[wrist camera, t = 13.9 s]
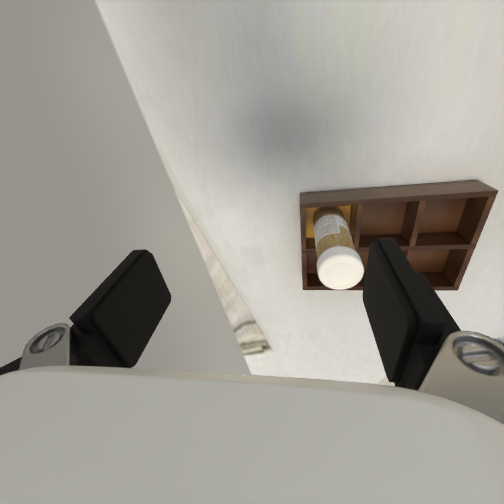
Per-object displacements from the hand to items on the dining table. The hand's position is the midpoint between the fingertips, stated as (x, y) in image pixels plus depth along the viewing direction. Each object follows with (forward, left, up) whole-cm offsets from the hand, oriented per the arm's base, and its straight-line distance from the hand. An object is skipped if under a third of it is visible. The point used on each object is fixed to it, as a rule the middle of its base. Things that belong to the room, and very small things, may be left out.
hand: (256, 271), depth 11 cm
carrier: (+13, +13, -27) cm, 32 cm away
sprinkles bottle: (+10, +6, -26) cm, 28 cm away
